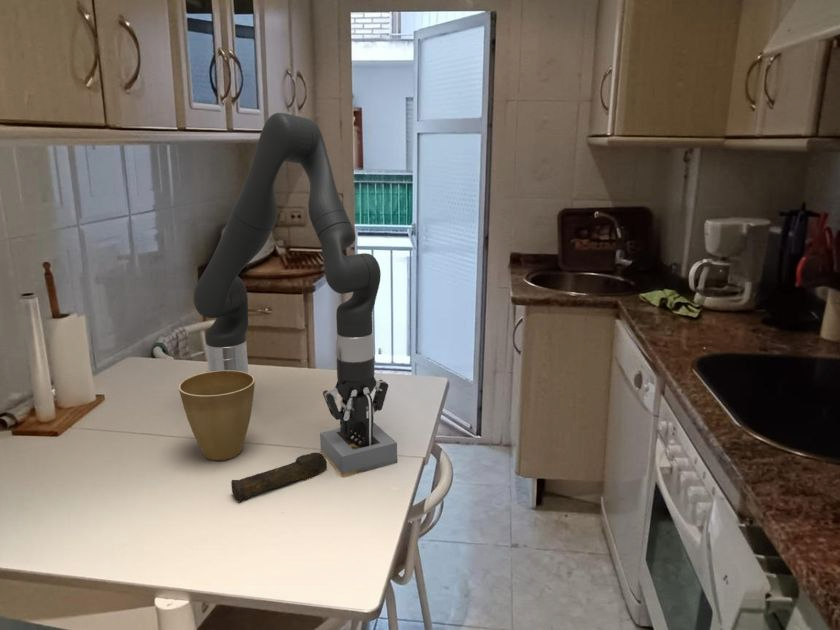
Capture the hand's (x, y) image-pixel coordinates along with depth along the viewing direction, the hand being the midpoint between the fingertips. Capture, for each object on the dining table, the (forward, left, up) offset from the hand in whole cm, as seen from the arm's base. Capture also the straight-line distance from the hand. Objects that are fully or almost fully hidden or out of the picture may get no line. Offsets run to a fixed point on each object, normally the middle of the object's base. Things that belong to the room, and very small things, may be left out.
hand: (357, 432), depth 130 cm
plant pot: (-24, +16, -6) cm, 29 cm away
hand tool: (-17, -2, -6) cm, 18 cm away
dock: (0, 0, -6) cm, 6 cm away
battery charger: (0, 0, -3) cm, 3 cm away
